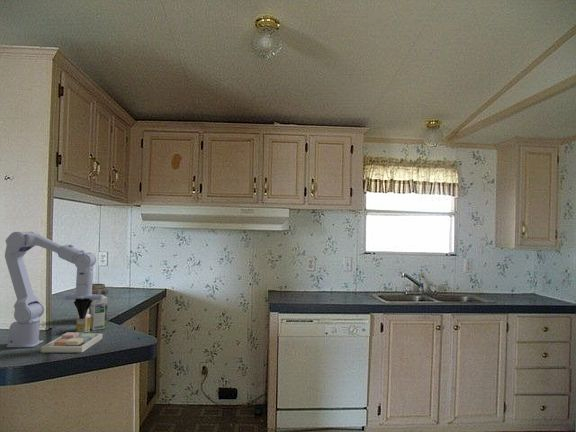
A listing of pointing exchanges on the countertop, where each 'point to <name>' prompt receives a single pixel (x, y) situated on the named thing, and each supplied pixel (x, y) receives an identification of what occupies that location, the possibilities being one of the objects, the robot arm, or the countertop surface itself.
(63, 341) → the key terracotta
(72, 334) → the key rose
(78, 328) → the supplement bottle
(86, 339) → the key slate
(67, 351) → the cream shallow tray
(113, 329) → the countertop surface
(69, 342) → the block
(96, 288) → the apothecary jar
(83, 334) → the key sage
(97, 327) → the syrup box
